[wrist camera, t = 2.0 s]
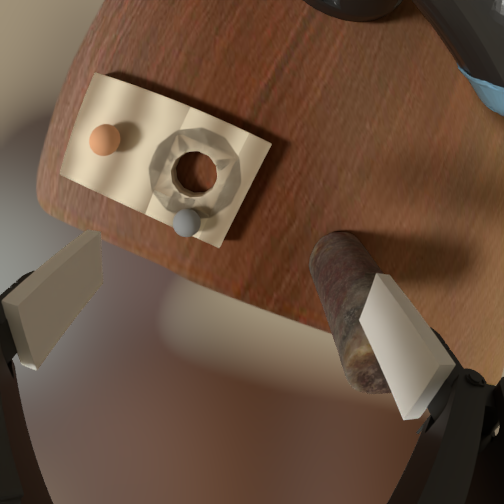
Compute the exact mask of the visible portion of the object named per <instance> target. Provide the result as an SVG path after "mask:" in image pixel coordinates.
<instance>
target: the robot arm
mask: <svg viewBox="0 0 504 504" xmlns="http://www.w3.org/2000/svg"><path fill="white" fill-rule="evenodd" d="M304 1H305V2H306V3H307V4H309V5H310V6H312V7H313V8H315V9H317V10H319V11H321V12H323V13H325V14H327V15H330V16H333V17H336V18H339V19H343V20H349V21H372V20H376V19H379V18H382V17H384V16H386V15H387V14H389V13H390V12H392V11H393V10H394V9H396V8H397V7H398V6H399V5H400V4H401V2H402V1H403V0H304ZM412 1H413V3H414V4H415V5H416V6H417V7H418V9H419V10H420V11H421V12H422V14H423V15H424V16H425V17H426V19H427V20H428V21H429V22H430V24H431V25H432V26H433V28H434V29H435V30H436V32H437V33H438V35H439V36H440V38H441V39H442V40H443V42H444V43H445V45H446V46H447V48H448V49H449V51H450V53H451V54H452V56H453V57H454V59H455V60H456V62H457V65H458V68H459V70H460V71H461V73H462V74H463V75H464V76H465V77H467V79H468V80H469V82H470V83H471V85H472V87H473V88H474V90H475V92H476V93H477V95H478V97H479V98H480V100H481V101H482V102H483V103H484V104H485V105H486V106H487V107H488V108H489V109H491V110H492V111H494V112H497V113H499V114H500V115H501V116H504V0H412ZM102 284H103V273H102V251H101V232H100V231H93V230H86V231H85V232H84V233H82V234H81V235H80V236H78V237H77V238H76V239H74V240H73V241H72V242H71V243H69V244H68V245H67V246H65V247H64V248H63V249H61V250H60V251H59V252H58V253H56V254H55V255H54V256H53V257H51V258H50V259H49V260H48V261H47V262H45V263H44V264H43V265H42V266H40V267H39V268H38V269H37V270H36V271H32V272H29V273H27V274H25V275H23V276H22V277H21V278H20V279H18V281H16V283H14V284H13V285H11V286H10V288H8V289H7V290H6V291H5V292H3V293H2V294H1V295H0V504H53V502H52V500H51V497H50V495H49V493H48V490H47V487H46V485H45V482H44V479H43V477H42V474H41V471H40V468H39V465H38V462H37V460H36V456H35V453H34V450H33V447H32V444H31V440H30V436H29V433H28V429H27V426H26V421H25V417H24V413H23V409H22V404H21V399H20V394H19V389H18V383H17V378H16V371H15V366H14V363H13V360H12V358H13V357H14V356H15V354H16V353H17V354H18V356H19V359H20V362H21V364H22V365H24V366H26V367H29V368H31V369H34V370H36V371H37V370H38V369H39V367H40V366H41V364H42V363H43V362H44V360H45V359H46V357H47V356H48V354H49V353H50V352H51V350H52V349H53V347H54V346H55V345H56V343H57V342H58V341H59V339H60V338H61V336H62V335H63V334H64V333H65V331H66V330H67V328H68V327H69V326H70V325H71V323H72V322H73V321H74V319H75V318H76V317H77V315H78V314H79V313H80V312H81V310H82V309H83V308H84V306H85V305H86V304H87V303H88V301H89V300H90V299H91V298H92V296H93V295H94V294H95V293H96V291H97V290H98V289H99V288H100V286H101V285H102ZM359 321H360V323H361V325H362V328H363V330H364V332H365V334H366V336H367V338H368V340H369V342H370V345H371V347H372V349H373V351H374V353H375V355H376V358H377V360H378V362H379V364H380V367H381V369H382V371H383V373H384V376H385V378H386V380H387V382H388V385H389V387H390V389H391V392H392V394H393V396H394V399H395V401H396V403H397V405H398V408H399V411H400V413H401V416H402V418H403V420H408V419H416V418H420V416H421V415H422V414H423V412H424V411H425V410H426V408H428V410H429V412H430V414H431V415H430V416H429V417H428V418H427V420H426V421H425V422H424V424H423V425H422V426H421V428H420V429H419V430H418V431H417V434H419V433H420V432H421V431H422V432H421V435H420V437H419V439H418V442H417V444H416V446H415V449H414V451H413V453H412V455H411V458H410V460H409V462H408V464H407V466H406V468H405V470H404V472H403V474H402V477H401V479H400V480H399V482H398V484H397V486H396V488H395V490H394V492H393V494H392V496H391V498H390V499H389V501H388V503H387V504H504V377H502V378H501V380H500V381H499V383H498V384H497V385H496V386H494V385H488V384H486V381H485V379H484V378H483V377H482V376H481V375H480V374H479V373H478V372H476V371H475V370H472V369H464V368H463V367H462V365H461V364H460V363H459V361H458V360H457V358H456V357H455V355H454V354H453V352H452V351H451V350H449V349H450V348H449V347H448V345H447V344H445V341H444V340H443V338H442V337H441V336H440V334H438V333H437V332H436V331H435V330H434V329H432V328H431V327H429V326H428V324H427V323H426V321H425V320H424V319H423V317H422V316H421V315H420V313H419V312H418V311H417V309H416V308H415V307H414V305H413V304H412V303H411V301H410V300H409V299H408V298H407V296H406V295H405V294H404V292H403V291H402V290H401V289H400V287H399V286H398V285H397V283H396V282H395V281H394V280H393V278H392V277H391V276H390V275H387V274H380V273H376V275H375V278H374V281H373V284H372V287H371V290H370V292H369V295H368V298H367V301H366V303H365V306H364V309H363V311H362V314H361V317H360V319H359ZM499 425H500V428H499V432H498V434H497V435H496V436H495V432H494V431H495V429H496V428H497V427H498V426H499Z"/></svg>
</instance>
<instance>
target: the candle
mask: <svg viewBox="0 0 504 504" xmlns="http://www.w3.org/2000/svg"><path fill="white" fill-rule="evenodd" d="M309 269H310V272H311V275H312V278H313V281H314V284H315V287H316V289H317V292H318V295H319V298H320V300H321V303H322V306H323V308H324V311H325V314H326V317H327V320H328V323H329V326H330V329H331V332H332V335H333V338H334V341H335V344H336V347H337V350H338V353H339V356H340V360H341V363H342V366H343V370H344V373H345V376H346V379H347V381H348V383H349V384H350V385H351V387H352V388H353V389H355V390H357V391H360V392H366V393H370V394H377V393H378V394H382V393H392V392H391V389H390V387H389V385H388V382H387V380H386V378H385V376H384V373H383V371H382V369H381V367H380V364H379V362H378V360H377V358H376V355H375V353H374V351H373V349H372V347H371V345H370V342H369V340H368V338H367V336H366V334H365V332H364V330H363V328H362V325H361V323H360V321H359V319H360V317H361V314H362V311H363V309H364V306H365V303H366V301H367V298H368V295H369V292H370V290H371V287H372V284H373V281H374V278H375V275H376V273H380V274H383V272H382V271H381V269H380V268H379V267H378V265H377V264H376V262H375V261H374V260H373V258H372V257H371V255H370V254H369V253H368V251H367V250H366V249H365V247H364V246H363V245H362V244H361V242H360V241H359V240H358V239H357V238H356V237H355V236H354V235H352V234H351V233H348V232H334V233H329V234H328V235H326V236H324V237H322V238H321V239H320V240H319V242H317V244H316V245H315V247H314V249H313V251H312V253H311V256H310V261H309Z"/></svg>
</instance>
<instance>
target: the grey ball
mask: <svg viewBox="0 0 504 504" xmlns="http://www.w3.org/2000/svg"><path fill="white" fill-rule="evenodd" d="M200 225H201V220H200V217H199V215H198V214H197V213H196V212H195V211H193V210H191V209H183V210H180V211H179V212H178V213H177V214H176V215H175V216H174V219H173V227H174V230H175V231H176V233H177V234H179V235H180V236H183V237H190V236H193V235H195V234H196V233H197V232H198V230H199V229H200Z"/></svg>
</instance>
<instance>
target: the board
mask: <svg viewBox="0 0 504 504" xmlns="http://www.w3.org/2000/svg"><path fill="white" fill-rule="evenodd" d="M103 124H110V125H112V126H114V127H115V128H116V129H117V130H118V131H119V133H120V144H119V146H118V148H117V150H116V151H115V152H113V153H112V154H110V155H108V156H100V155H97V154H95V153H94V152H93V151H92V150H91V148H90V145H89V138H90V135H91V133H92V131H93V130H94V129H95V128H96V127H98V126H100V125H103ZM271 145H272V144H271V143H270V142H268V141H266V140H264V139H262V138H260V137H258V136H256V135H254V134H251V133H249V132H247V131H245V130H243V129H241V128H239V127H237V126H234V125H232V124H230V123H228V122H226V121H223V120H221V119H219V118H217V117H214V116H212V115H210V114H207V113H205V112H203V111H200V110H198V109H196V108H193V107H191V106H188V105H186V104H183V103H181V102H178V101H176V100H173V99H171V98H168V97H166V96H163V95H160V94H158V93H155V92H152V91H150V90H147V89H144V88H142V87H139V86H136V85H133V84H130V83H127V82H124V81H121V80H118V79H115V78H112V77H109V76H106V75H103V74H99V73H94V76H93V78H92V80H91V83H90V85H89V87H88V90H87V92H86V95H85V97H84V100H83V103H82V105H81V108H80V111H79V113H78V116H77V119H76V122H75V125H74V128H73V131H72V134H71V137H70V140H69V143H68V146H67V150H66V153H65V156H64V160H63V163H62V167H61V171H60V175H62V176H64V177H66V178H68V179H70V180H72V181H75V182H77V183H79V184H81V185H83V186H85V187H87V188H90V189H92V190H94V191H96V192H98V193H100V194H102V195H105V196H107V197H109V198H111V199H113V200H115V201H117V202H120V203H122V204H124V205H126V206H128V207H130V208H133V209H135V210H137V211H139V212H141V213H143V214H146V215H148V216H150V217H152V218H154V219H156V220H159V221H161V222H163V223H165V224H167V225H169V226H172V227H173V219H174V216H175V215H176V214H177V213H178V212H179V211H180V210H183V209H191V210H193V211H195V212H196V213H197V214H198V215H199V217H200V220H201V225H200V229H199V230H198V232H197V233H196V234H195V235H193V236H194V237H196V238H198V239H200V240H202V241H205V242H207V243H209V244H211V245H213V246H216V247H218V248H220V246H221V244H222V242H223V240H224V238H225V236H226V234H227V232H228V230H229V228H230V226H231V224H232V222H233V220H234V218H235V216H236V214H237V212H238V210H239V208H240V206H241V204H242V202H243V200H244V198H245V196H246V194H247V192H248V190H249V188H250V186H251V184H252V182H253V180H254V178H255V176H256V174H257V172H258V170H259V168H260V166H261V164H262V162H263V160H264V158H265V156H266V155H267V153H268V151H269V149H270V147H271ZM192 151H199V152H201V153H204V154H206V155H208V156H209V157H210V158H211V159H212V161H213V162H214V164H215V165H216V168H217V180H216V183H215V185H214V186H213V187H212V188H210V189H209V190H207V191H206V192H196V193H194V192H192V191H189V190H187V189H185V188H184V187H183V186H182V185H181V183H180V182H179V181H178V179H177V172H176V167H177V164H178V162H179V160H180V157H182V156H183V155H184V154H186V153H187V152H192Z"/></svg>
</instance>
